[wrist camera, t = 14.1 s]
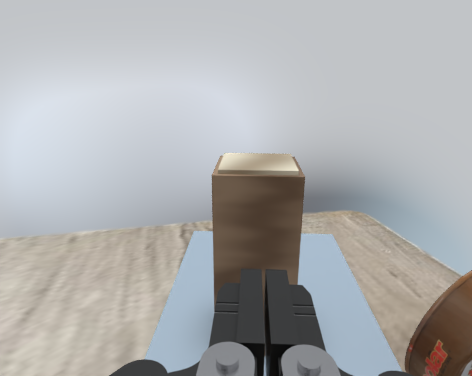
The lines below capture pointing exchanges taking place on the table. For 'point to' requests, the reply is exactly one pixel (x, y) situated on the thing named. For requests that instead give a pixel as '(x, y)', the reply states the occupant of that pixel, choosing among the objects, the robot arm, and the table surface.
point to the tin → (444, 335)
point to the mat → (310, 276)
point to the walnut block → (256, 216)
